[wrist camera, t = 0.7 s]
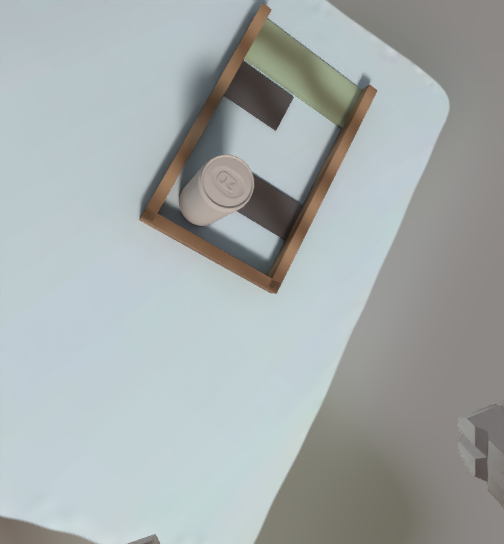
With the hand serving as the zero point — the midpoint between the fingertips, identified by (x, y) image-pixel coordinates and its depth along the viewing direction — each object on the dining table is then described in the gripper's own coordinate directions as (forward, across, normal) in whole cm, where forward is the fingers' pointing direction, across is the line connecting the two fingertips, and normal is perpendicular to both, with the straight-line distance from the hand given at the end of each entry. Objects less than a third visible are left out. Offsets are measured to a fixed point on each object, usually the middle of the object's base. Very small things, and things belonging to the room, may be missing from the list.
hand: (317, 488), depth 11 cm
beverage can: (+40, -2, +2) cm, 40 cm away
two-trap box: (+42, -11, -1) cm, 44 cm away
